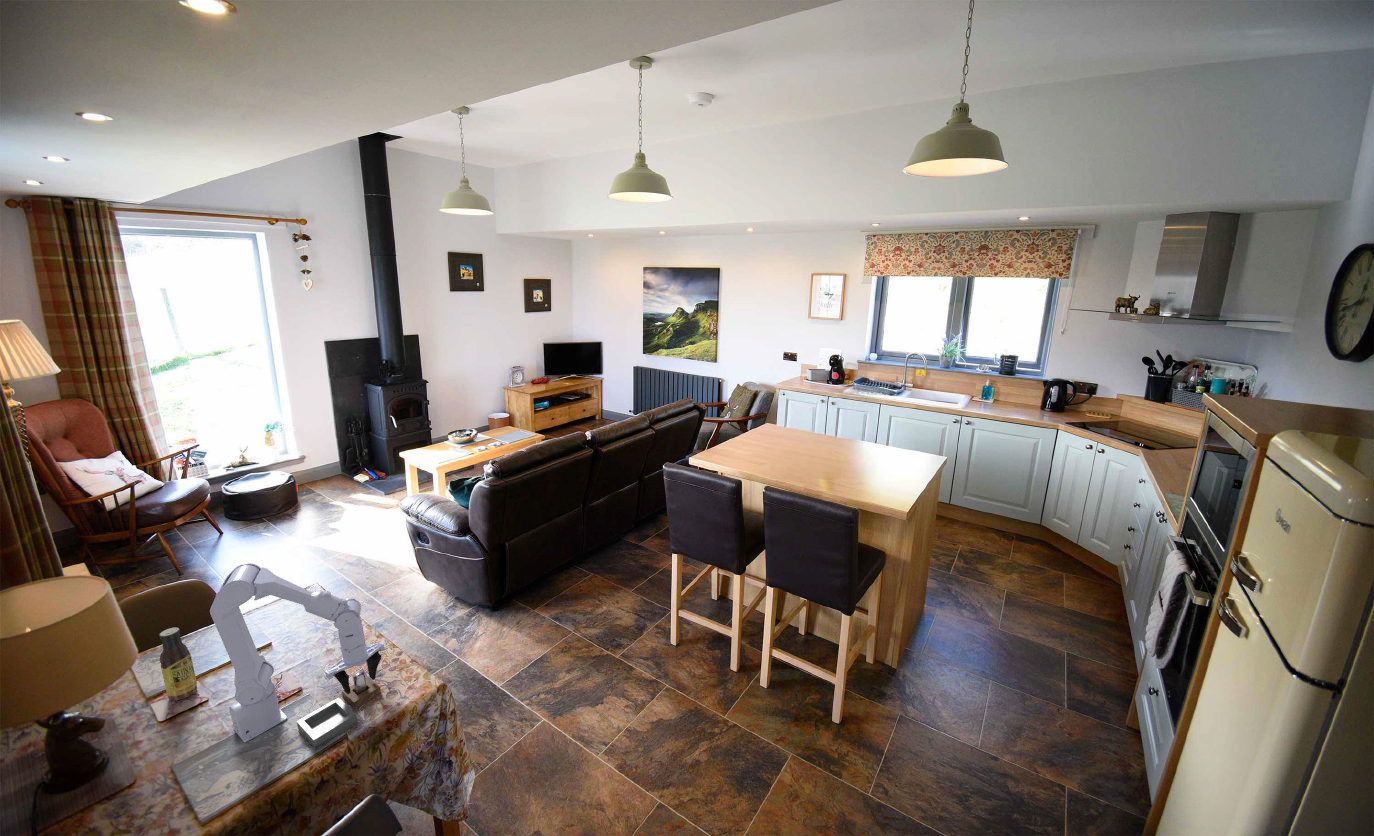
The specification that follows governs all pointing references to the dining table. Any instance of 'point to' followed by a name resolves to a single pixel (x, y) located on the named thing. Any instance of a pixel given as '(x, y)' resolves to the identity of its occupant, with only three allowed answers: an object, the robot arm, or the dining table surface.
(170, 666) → the sauce bottle
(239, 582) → the robot arm
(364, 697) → the frame
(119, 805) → the dining table surface
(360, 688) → the pin
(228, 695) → the dining table surface
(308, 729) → the tray
